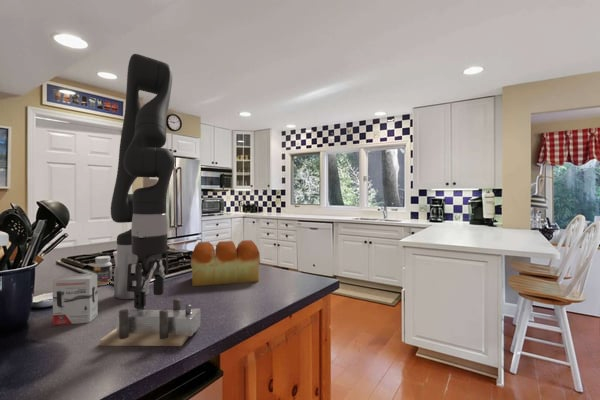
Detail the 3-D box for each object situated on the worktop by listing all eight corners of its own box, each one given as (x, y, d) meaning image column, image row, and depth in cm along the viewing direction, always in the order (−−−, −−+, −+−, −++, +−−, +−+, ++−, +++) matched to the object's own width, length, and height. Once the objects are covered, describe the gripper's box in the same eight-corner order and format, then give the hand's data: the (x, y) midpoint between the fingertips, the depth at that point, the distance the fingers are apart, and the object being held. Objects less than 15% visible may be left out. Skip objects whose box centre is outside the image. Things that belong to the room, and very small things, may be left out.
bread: (255, 273, 127) (255, 238, 127) (259, 281, 115) (260, 243, 115) (193, 277, 121) (193, 240, 120) (190, 286, 109) (190, 246, 108)
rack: (99, 345, 66) (99, 313, 66) (126, 325, 76) (126, 297, 76) (181, 345, 66) (181, 313, 66) (197, 326, 76) (197, 297, 76)
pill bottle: (92, 287, 107) (92, 259, 107) (94, 282, 112) (94, 256, 112) (111, 284, 110) (111, 257, 110) (112, 280, 115) (112, 255, 115)
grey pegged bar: (114, 335, 68) (113, 309, 68) (129, 324, 74) (128, 300, 74) (191, 336, 68) (191, 309, 68) (200, 324, 74) (200, 300, 74)
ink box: (51, 326, 76) (51, 279, 76) (62, 318, 81) (62, 274, 80) (90, 322, 78) (89, 277, 78) (98, 315, 83) (98, 272, 82)
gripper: (149, 228, 78) (149, 290, 78) (114, 237, 63) (115, 312, 64) (178, 229, 78) (178, 291, 78) (150, 237, 63) (150, 313, 64)
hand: (149, 300), depth 71 cm, fingers open, 8 cm apart
